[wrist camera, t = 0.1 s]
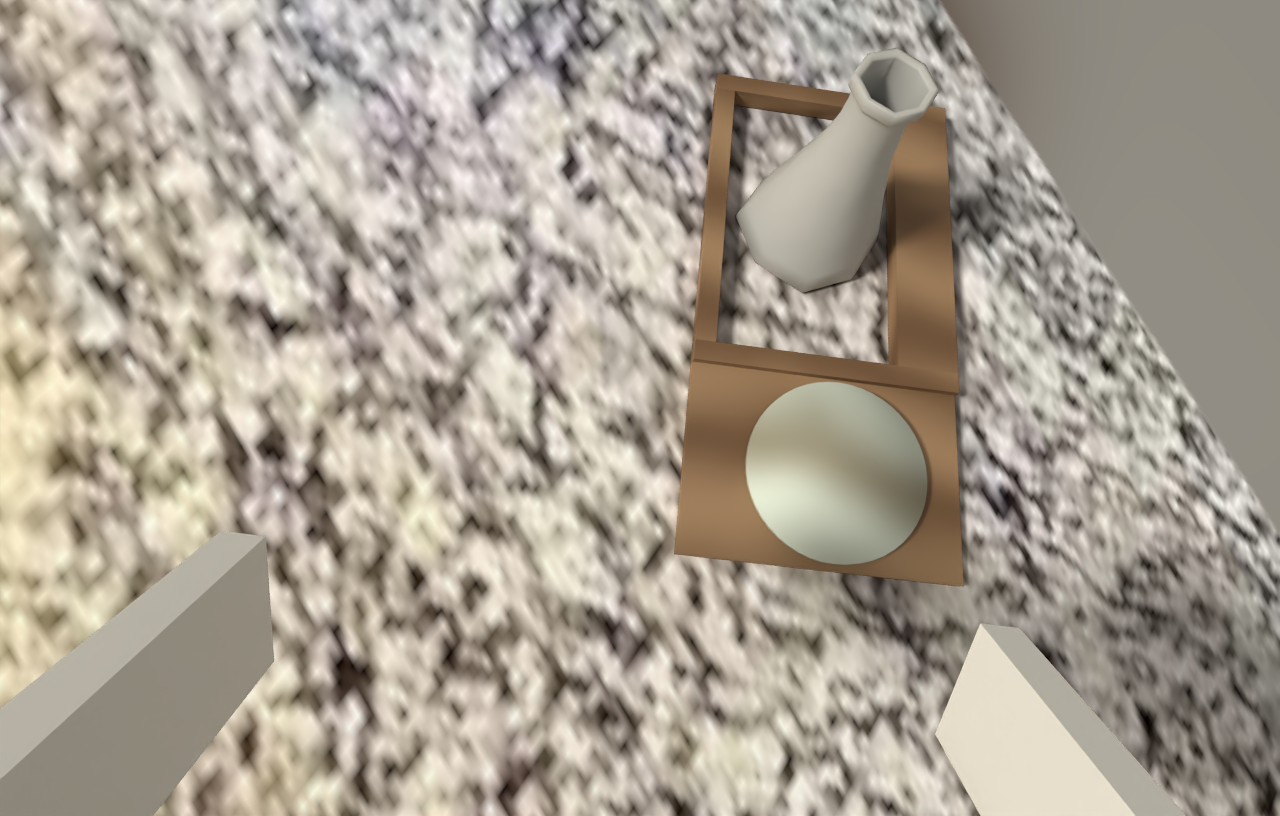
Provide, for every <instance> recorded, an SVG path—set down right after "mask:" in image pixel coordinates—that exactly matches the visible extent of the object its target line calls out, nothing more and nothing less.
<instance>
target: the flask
mask: <svg viewBox="0 0 1280 816" xmlns="http://www.w3.org/2000/svg"><path fill="white" fill-rule="evenodd" d="M848 85H849V88H850V90H851V93H850V96H849V98H848V100H847V101H846V103H845V105H844V107H843V109H842V110H841V112H840V113H839V114H838V116H837V117H836V118H835V119H834V121H833V122H832V123H831V124H830V125H829V127H827V128H826V129H825V130H824V131H823V132H822V133H820V134H819V135H818V136H817V137H816V138H814V139H813V140H812V141H811V142H810V143H809V144H807V145H806V146H805V147H804V148H803V149H801V150H800V151H799V152H798V153H797V154H795V155H794V156H793V157H791V158H790V159H789V160H787V161H786V162H785V163H783V164H782V165H781V166H780V167H778V168H777V169H776V170H774V171H773V172H772V173H770V174H769V175H768V176H767V177H766V178H765V179H763V181H762V182H761V183H760V185H759V186H758V187H757V188H756V190H755V191H754V192H753V194H752V195H751V196H750V198H749V199H748V200H747V202H746V203H745V204H744V205H743V207H742V208H741V209H740V211H739V212H738V213H737V215H736V218H737V220H738V223H739V225H740V228H741V230H742V232H743V235H744V237H745V239H746V242H747V244H748V247H749V249H750V251H751V254H752V256H753V259H754V261H755V263H757V264H758V265H760V266H761V267H763V268H764V269H766V270H768V271H769V272H771V273H772V274H774V275H775V276H777V277H778V278H780V279H781V280H783V281H784V282H786V283H788V284H789V285H791V286H792V287H794V288H795V289H797V290H798V291H800V292H801V293H803V292H807V291H810V290H814V289H817V288H821V287H825V286H828V285H832V284H836V283H839V282H843V281H847V280H850V279H852V278H853V276H854V275H855V273H856V272H857V270H858V269H859V267H860V266H861V264H862V262H863V261H864V259H865V258H866V256H867V255H868V253H869V252H870V250H871V249H872V247H873V246H874V244H875V243H876V241H877V237H878V232H879V227H880V220H881V213H882V206H883V199H884V194H885V189H886V184H887V180H888V175H889V170H890V165H891V160H892V157H893V155H894V153H895V151H896V148H897V146H898V144H899V141H900V139H901V137H902V134H903V132H904V130H905V128H906V126H907V125H908V124H909V123H910V122H914V121H918V120H919V119H920V118H921V117H922V116H923V115H924V113H925V112H926V110H927V109H928V107H929V106H930V105H931V103H932V102H933V100H934V99H935V97H936V96H937V94H938V93H939V91H940V90H939V88H938V87H937V85H936V83H935V81H934V79H933V77H932V76H931V74H930V72H929V70H928V68H927V67H926V65H925V64H924V63H922V62H920V61H919V60H917V59H915V58H914V57H912V56H910V55H908V54H907V53H905V52H903V51H902V50H900V49H898V48H893V49H888V50H884V51H879V52H874V53H869V54H867V56H866V57H865V58H864V60H863V61H862V62H861V64H860V65H859V66H858V68H857V69H856V70H855V72H854V73H853V74H852V76H851V78H850V79H849V84H848Z"/></svg>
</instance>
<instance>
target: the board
mask: <svg viewBox="0 0 1280 816" xmlns="http://www.w3.org/2000/svg"><path fill="white" fill-rule="evenodd" d="M849 96H850V94H848V93H842V92H835V91H829V90H822V89H816V88H809V87H803V86H796V85H790V84H783V83H777V82H770V81H764V80H757V79H751V78H744V77H738V76H731V75H725V74H718V77H717V81H716V85H715V90H714V102H713V113H712V125H711V136H710V148H709V159H708V171H707V182H706V194H705V205H704V217H703V228H702V240H701V251H700V263H699V274H698V286H697V297H696V309H695V320H694V332H693V343H692V355H691V366H690V378H689V389H688V401H687V412H686V424H685V435H684V447H683V458H682V470H681V481H680V493H679V504H678V516H677V527H676V539H675V550H674V554H678V555H687V556H695V557H704V558H713V559H722V560H731V561H739V562H748V563H757V564H766V565H775V566H783V567H792V568H801V569H810V570H819V571H827V572H836V573H845V574H854V575H863V576H871V577H880V578H889V579H898V580H907V581H915V582H924V583H933V584H942V585H951V586H964V585H963V564H962V543H961V522H960V500H959V479H958V458H957V437H956V416H955V395H957V394H958V393H959V376H958V356H957V336H956V316H955V296H954V276H953V256H952V236H951V216H950V196H949V176H948V155H947V135H946V115H945V108H939V107H933V106H929V107H928V109H927V110H926V112H925V113H924V115H923V116H922V117H921V118H920V119H919V120H918V121H914V122H910V123H909V124H908V125H907V126H906V128H905V130H904V132H903V134H902V137H901V139H900V141H899V144H898V146H897V148H896V151H895V153H894V155H893V157H892V160H891V165H890V170H889V175H888V180H887V184H886V206H887V275H888V344H889V364H881V363H873V362H866V361H858V360H851V359H843V358H835V357H828V356H820V355H813V354H805V353H797V352H790V351H782V350H775V349H767V348H759V347H752V346H744V345H737V344H729V343H721V342H716V339H717V325H718V312H719V299H720V285H721V272H722V258H723V245H724V232H725V218H726V205H727V192H728V178H729V165H730V151H731V138H732V125H733V111H734V105H737V106H744V107H750V108H757V109H764V110H770V111H777V112H783V113H790V114H797V115H803V116H810V117H817V118H823V119H830V120H834V119H835V118H836V117H837V116H838V114H839V113H840V112H841V110H842V109H843V107H844V105H845V103H846V101H847V100H848V98H849Z"/></svg>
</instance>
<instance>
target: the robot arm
mask: <svg viewBox="0 0 1280 816" xmlns="http://www.w3.org/2000/svg"><path fill="white" fill-rule="evenodd" d="M273 662H274V652H273V637H272V622H271V608H270V593H269V578H268V564H267V549H266V536H258V535H249V534H241V533H233V532H225V531H220V532H219V533H218V534H217V535H215V536H214V537H213V538H212V539H211V540H209V541H208V542H207V543H206V544H204V545H203V546H202V547H201V548H199V549H198V550H197V551H196V552H194V553H193V554H192V555H191V556H189V557H188V558H187V559H186V560H184V561H183V562H182V563H181V564H179V565H178V566H177V567H176V568H174V569H173V570H172V571H171V572H169V573H168V574H167V575H166V576H165V577H163V578H162V579H161V580H160V581H158V582H157V583H156V584H155V585H153V586H152V587H151V588H150V589H148V590H147V591H146V592H145V593H143V594H142V595H141V596H140V597H138V598H137V599H136V600H135V601H133V602H132V603H131V604H130V605H128V606H127V607H126V608H125V609H123V610H122V611H121V612H120V613H119V614H117V615H116V616H115V617H114V618H112V619H111V620H110V621H109V622H107V623H106V624H105V625H104V626H102V627H101V628H100V629H99V630H97V631H96V632H95V633H94V634H92V635H91V636H90V637H89V638H87V639H86V640H85V641H84V642H82V643H81V644H80V645H79V646H77V647H76V648H75V649H74V650H72V651H71V652H70V653H69V654H68V655H66V656H65V657H64V658H63V659H61V660H60V661H59V662H58V663H56V664H55V665H54V666H53V667H51V668H50V669H49V670H48V671H46V672H45V673H44V674H43V675H41V676H40V677H39V678H38V679H36V680H35V681H34V682H33V683H31V684H30V685H29V686H28V687H26V688H25V689H24V690H23V691H22V692H20V693H19V694H18V695H17V696H15V697H14V698H13V699H12V700H10V701H9V702H8V703H7V704H5V705H4V706H3V707H2V708H0V816H153V815H154V814H155V813H156V812H157V810H158V809H159V808H160V806H161V805H162V804H163V803H164V801H165V800H166V799H167V798H168V796H169V795H170V794H171V792H172V791H173V790H174V789H175V787H176V786H177V785H178V783H179V782H180V781H181V780H182V778H183V777H184V776H185V774H186V773H187V772H188V771H189V769H190V768H191V767H192V766H193V764H194V763H195V762H196V760H197V759H198V758H199V757H200V755H201V754H202V753H203V751H204V750H205V749H206V748H207V746H208V745H209V744H210V742H211V741H212V740H213V739H214V737H215V736H216V735H217V734H218V732H219V731H220V730H221V728H222V727H223V726H224V725H225V723H226V722H227V721H228V719H229V718H230V717H231V716H232V714H233V713H234V712H235V710H236V709H237V708H238V707H239V705H240V704H241V703H242V701H243V700H244V699H245V698H246V696H247V695H248V694H249V693H250V691H251V690H252V689H253V687H254V686H255V685H256V684H257V682H258V681H259V680H260V678H261V677H262V676H263V675H264V673H265V672H266V671H267V669H268V668H269V667H270V666H271V664H272V663H273ZM936 736H937V738H938V740H939V742H940V743H941V745H942V747H943V749H944V751H945V752H946V754H947V756H948V758H949V760H950V761H951V763H952V765H953V767H954V769H955V770H956V772H957V774H958V776H959V778H960V779H961V781H962V783H963V785H964V787H965V788H966V790H967V792H968V794H969V796H970V797H971V799H972V801H973V803H974V805H975V806H976V808H977V810H978V812H979V814H980V815H981V816H1186V815H1185V814H1184V813H1183V812H1182V811H1181V810H1180V808H1179V807H1178V806H1177V805H1176V804H1175V803H1174V802H1173V801H1172V799H1171V798H1170V797H1169V796H1168V795H1167V794H1166V793H1165V791H1164V790H1163V789H1162V788H1161V787H1160V786H1159V785H1158V784H1157V782H1156V781H1155V780H1154V779H1153V778H1152V777H1151V776H1150V775H1149V773H1148V772H1147V771H1146V770H1145V769H1144V768H1143V767H1142V766H1141V764H1140V763H1139V762H1138V761H1137V760H1136V759H1135V758H1134V757H1133V755H1132V754H1131V753H1130V752H1129V751H1128V750H1127V749H1126V748H1125V746H1124V745H1123V744H1122V743H1121V742H1120V741H1119V740H1118V739H1117V737H1116V736H1115V735H1114V734H1113V733H1112V732H1111V731H1110V730H1109V728H1108V727H1107V726H1106V725H1105V724H1104V723H1103V722H1102V721H1101V719H1100V718H1099V717H1098V716H1097V715H1096V714H1095V713H1094V712H1093V710H1092V709H1091V708H1090V707H1089V706H1088V705H1087V704H1086V703H1085V701H1084V700H1083V699H1082V698H1081V697H1080V696H1079V695H1078V693H1077V692H1076V691H1075V690H1074V689H1073V688H1072V687H1071V686H1070V684H1069V683H1068V682H1067V681H1066V680H1065V679H1064V678H1063V677H1062V675H1061V674H1060V673H1059V672H1058V671H1057V670H1056V669H1055V668H1054V666H1053V665H1052V664H1051V663H1050V662H1049V661H1048V660H1047V659H1046V657H1045V656H1044V655H1043V654H1042V653H1041V652H1040V651H1039V650H1038V648H1037V647H1036V646H1035V645H1034V644H1033V643H1032V642H1031V641H1030V639H1029V638H1028V637H1027V636H1026V635H1025V634H1024V633H1023V632H1022V630H1021V629H1020V628H1015V627H1007V626H999V625H991V624H982V623H980V625H979V628H978V630H977V633H976V635H975V638H974V640H973V643H972V645H971V648H970V650H969V652H968V655H967V657H966V660H965V662H964V665H963V667H962V670H961V672H960V675H959V677H958V680H957V682H956V684H955V687H954V689H953V692H952V694H951V697H950V699H949V702H948V704H947V707H946V709H945V712H944V714H943V717H942V719H941V721H940V724H939V726H938V729H937V731H936Z"/></svg>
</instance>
